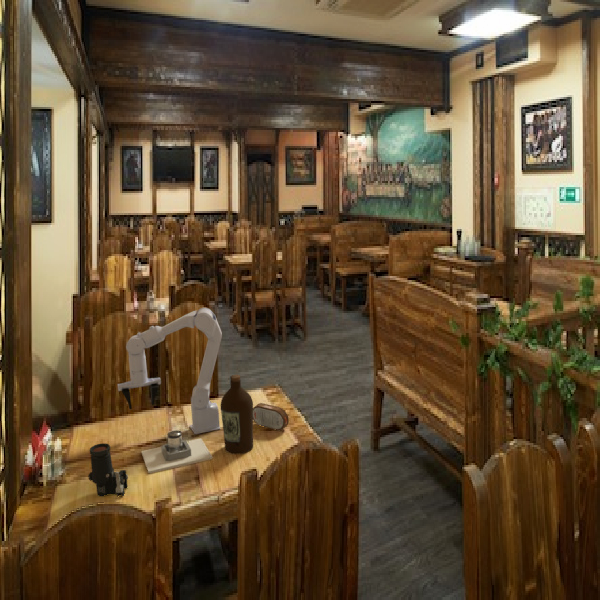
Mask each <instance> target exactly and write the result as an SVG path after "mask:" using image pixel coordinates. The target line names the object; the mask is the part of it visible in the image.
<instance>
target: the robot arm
mask: <svg viewBox="0 0 600 600" xmlns="http://www.w3.org/2000/svg"><path fill="white" fill-rule="evenodd" d="M195 327H196V329H197V330H199V331H201V332H202V333H203V334H204V335H205V336H206V338H207V343H206V347H205V351H204V353H203V354H204V356H203V359H202V363H201V366H200V372H199V375H198V379H197V382H196V385H194V387H193V389H192V395H191V398H190V403H191V404H190V406H191V408H190V409H191V423H192V424H189V427H190V429H191V431H192V432H193V434H194V435H198V434H203V433H207V432H212V431H216V430H221V427H220V426H221V425H220V413H219V411H220V410H219V407H218V404H217V402H211V401H210V393H211V390H210V388H211V380H212V378H213V373H214V370H215V366H216V362H217V357H218V354H219V350H220V346H221V342H222V339H223V338H222V337H223V333H222V329H221V327H220V325H219V322H218V319H217V316H216V314H215V313H214V312H213V311H212V310H211V309H210V308H208V307H201V308H199V309H198V310H197V309H196V310H193V311H191V312H189V313H186V314H184V315H183V316H181V317H179V318H177V319H175V320H173V321H171V322H169V323H167V324H165V325H164V326H159V325H155V326H154V325H151V326H149V328H148V329H147V330H145V331H142V332H140V331H139V332H137V334H136V335H132V336H131V337H130V338H129V339H128V341H127V342H126V344H125V345H126V346H125V349H126V351H127V354H128V364H129V368H128V369H129V378H130V381H129V380H128V381H125V382H122V383H117V391H118V392H120V391H121V393H122V395H123V397H124V398H125V399H126V402H127V404H128V408H129V410H133V407H132V400H131V392H130V389H134V388H141V387H142V388H143V387H147V386H149V389H150V404H151V405H152V406H155V400H156V396H157V392H158V390H159V386H160V385H161V384H162V380H161V377H151V378H150V377H148V369H147V368H148V367H147V360H146V359H147V357H146V353H145V349H148V348H151V347H153V346H156V345H157V344H159V343H161V342H164V340H165V338H166V336H167V335H170V334H172V333H175V332H177V331H179V330H182V329H183V328H191V329H194V328H195Z"/></svg>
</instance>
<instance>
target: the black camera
mask: <svg viewBox="0 0 600 600" xmlns="http://www.w3.org/2000/svg"><path fill="white" fill-rule="evenodd" d="M89 455H90V463H91V471H90V472H89V474H88V476H87V477H88V480H89V481H92V482H93V483H94V484H95V485H96V495H97V496H99V497H105V496H104V495H107V494H115V495H116V497H117V498H119V497H120V496H119V495H121V498H124V497H125V495H124V494H126V491H125V490H126V488H127V487H128V480H129V475H128V474H127V469H121V470H119V471H115V469H114V467H113V462H112V455H111V446H110V444H109V443H105V442H103V443H97V444H95V445H93V446H91V447H90V448H89ZM127 489H128V488H127ZM107 496H108V495H107ZM118 496H119V497H118ZM123 496H124V497H123Z"/></svg>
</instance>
